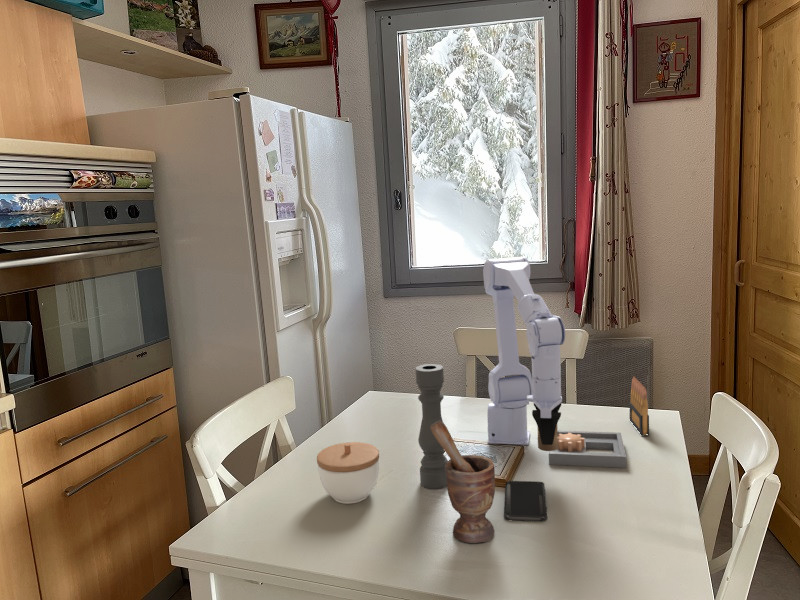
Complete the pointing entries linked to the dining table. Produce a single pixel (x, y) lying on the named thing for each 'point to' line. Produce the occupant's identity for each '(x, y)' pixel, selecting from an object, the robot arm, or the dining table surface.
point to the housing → (577, 442)
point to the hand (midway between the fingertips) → (547, 439)
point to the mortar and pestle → (468, 488)
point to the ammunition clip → (639, 407)
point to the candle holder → (430, 397)
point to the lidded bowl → (349, 471)
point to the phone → (525, 501)
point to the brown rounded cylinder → (549, 447)
